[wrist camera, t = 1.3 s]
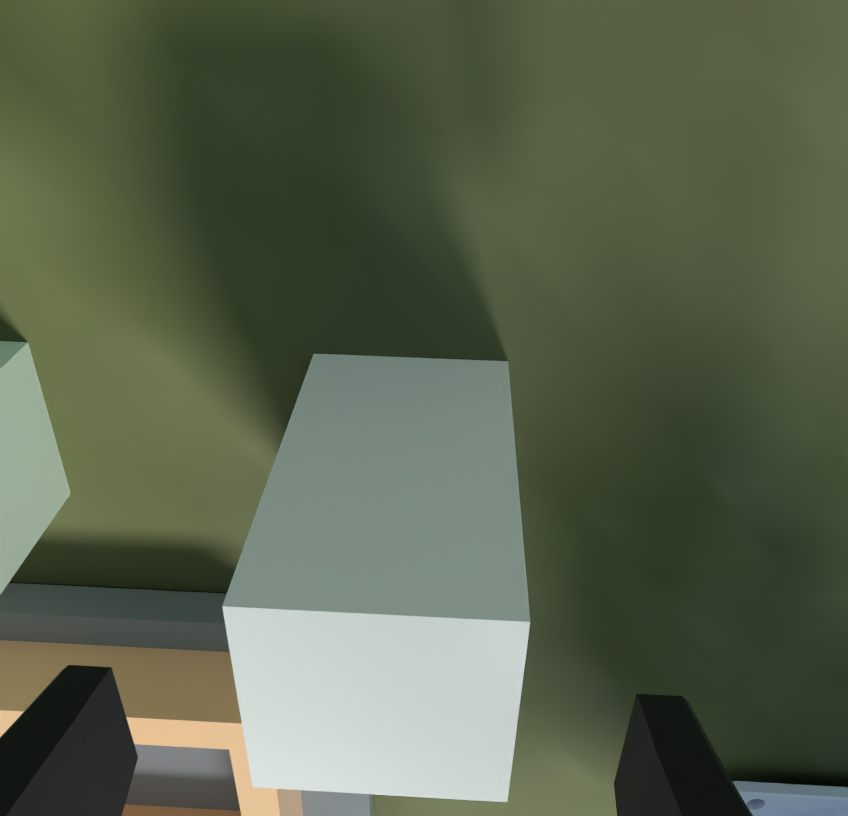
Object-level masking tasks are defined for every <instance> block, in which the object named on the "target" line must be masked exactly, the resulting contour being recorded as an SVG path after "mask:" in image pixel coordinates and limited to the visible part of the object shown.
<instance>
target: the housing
mask: <svg viewBox="0 0 848 816" xmlns="http://www.w3.org/2000/svg"><path fill="white" fill-rule="evenodd" d="M225 597H226V594H222V593H202V592H182V591H162V590H142V589H122V588H102V587H82V586H62V585H42V584H22V583H8V584H7V586H6V587H5V589H4V590H3V592H2V593H1V594H0V737H1V736H2V735H3V734H4V733H5V732H6V731H7V730H8V728H9V727H10V726H11V725H12V724H13V723H14V722H15V721H16V720H17V719H18V718H19V717H20V715H21V714H22V713H23V712H24V711H25V710H26V709H27V708H28V707H29V706H30V705H31V703H32V702H33V701H34V700H35V699H36V698H37V697H38V696H39V695H40V694H41V692H42V691H43V690H44V689H45V688H46V687H47V686H48V685H49V684H50V683H51V682H52V681H53V679H54V678H55V677H56V676H57V675H58V674H59V673H60V672H61V671H62V670H63V669H64V668H65V667H66V666H68V665H80V666H99V667H112V670H113V674H114V677H115V681H116V684H117V687H118V691H119V694H120V698H121V701H122V704H123V708H124V711H125V715H126V718H127V721H128V725H129V728H130V732H131V735H132V738H133V742H134V745H135V749H136V752H137V755H138V760H137V763H136V767H135V770H134V774H133V778H132V781H131V785H130V789H129V792H128V796H127V799H126V803H125V806H124V809H123V813H122V816H374V794H359V793H341V792H324V791H307V790H290V789H273V788H256V787H252V781H251V775H250V769H249V763H248V757H247V751H246V745H245V739H244V733H243V727H242V721H241V715H240V710H239V704H238V698H237V692H236V686H235V680H234V674H233V668H232V662H231V656H230V650H229V644H228V638H227V632H226V626H225V620H224V614H223V608H222V605H223V603H224V600H225Z"/></svg>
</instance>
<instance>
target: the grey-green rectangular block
mask: <svg viewBox="0 0 848 816" xmlns="http://www.w3.org/2000/svg"><path fill="white" fill-rule="evenodd" d="M222 608H223V614H224V620H225V626H226V632H227V638H228V644H229V650H230V656H231V662H232V668H233V674H234V680H235V686H236V692H237V698H238V704H239V710H240V715H241V721H242V727H243V733H244V739H245V745H246V751H247V757H248V763H249V769H250V775H251V781H252V787H256V788H273V789H290V790H307V791H324V792H341V793H359V794H376V795H393V796H410V797H427V798H444V799H461V800H478V801H496V802H507V799H508V792H509V784H510V776H511V768H512V761H513V753H514V745H515V737H516V730H517V722H518V714H519V706H520V699H521V691H522V683H523V675H524V667H525V660H526V652H527V644H528V636H529V629H530V612H529V600H528V589H527V577H526V565H525V554H524V542H523V531H522V519H521V507H520V496H519V484H518V472H517V461H516V449H515V437H514V426H513V414H512V402H511V391H510V379H509V367H508V361H486V360H461V359H436V358H410V357H385V356H360V355H335V354H313V357H312V360H311V362H310V365H309V368H308V371H307V373H306V376H305V379H304V382H303V384H302V387H301V390H300V393H299V395H298V398H297V401H296V404H295V407H294V409H293V412H292V415H291V418H290V420H289V423H288V426H287V429H286V431H285V434H284V437H283V440H282V442H281V445H280V448H279V451H278V453H277V456H276V459H275V462H274V465H273V467H272V470H271V473H270V476H269V478H268V481H267V484H266V487H265V489H264V492H263V495H262V498H261V500H260V503H259V506H258V509H257V512H256V514H255V517H254V520H253V523H252V525H251V528H250V531H249V534H248V536H247V539H246V542H245V545H244V547H243V550H242V553H241V556H240V559H239V561H238V564H237V567H236V570H235V572H234V575H233V578H232V581H231V583H230V586H229V589H228V592H227V594H226V597H225V600H224V603H223V605H222Z"/></svg>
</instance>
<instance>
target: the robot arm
mask: <svg viewBox="0 0 848 816" xmlns="http://www.w3.org/2000/svg"><path fill="white" fill-rule="evenodd" d="M137 760H138V755H137V752H136V749H135V745H134V742H133V738H132V735H131V732H130V728H129V725H128V721H127V718H126V715H125V711H124V708H123V704H122V701H121V698H120V694H119V691H118V687H117V684H116V681H115V677H114V674H113V670H112V667H99V666H80V665H68V666H66V667H65V668H64V669H63V670H62V671H61V672H60V673H59V674H58V675H57V676H56V677H55V678H54V679H53V681H52V682H51V683H50V684H49V685H48V686H47V687H46V688H45V689H44V690H43V691H42V692H41V694H40V695H39V696H38V697H37V698H36V699H35V700H34V701H33V702H32V703H31V705H30V706H29V707H28V708H27V709H26V710H25V711H24V712H23V713H22V714H21V715H20V717H19V718H18V719H17V720H16V721H15V722H14V723H13V724H12V725H11V726H10V727H9V728H8V730H7V731H6V732H5V733H4V734H3V735H2V736H1V737H0V816H122V813H123V809H124V806H125V803H126V799H127V796H128V792H129V789H130V785H131V781H132V778H133V774H134V770H135V767H136V763H137ZM614 788H615V798H616V808H617V816H848V787H838V786H820V785H802V784H785V783H767V782H750V781H732V780H731V778H730V777H729V775H728V773H727V772H726V770H725V768H724V766H723V765H722V763H721V761H720V759H719V758H718V756H717V754H716V752H715V751H714V749H713V747H712V745H711V743H710V742H709V740H708V738H707V736H706V734H705V733H704V731H703V729H702V727H701V725H700V723H699V722H698V720H697V718H696V716H695V714H694V712H693V710H692V708H691V706H690V705H689V703H688V702H687V701H686V700H685V699H684V698H683V697H682V696H667V695H648V694H636V698H635V702H634V706H633V710H632V714H631V718H630V722H629V726H628V730H627V734H626V738H625V742H624V746H623V750H622V754H621V758H620V762H619V766H618V770H617V774H616V778H615V782H614Z"/></svg>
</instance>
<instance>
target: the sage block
mask: <svg viewBox="0 0 848 816" xmlns="http://www.w3.org/2000/svg"><path fill="white" fill-rule="evenodd" d="M70 494H71V493H70V489H69V486H68V482H67V479H66V475H65V472H64V468H63V465H62V461H61V457H60V454H59V450H58V447H57V443H56V440H55V436H54V433H53V429H52V426H51V422H50V419H49V415H48V411H47V408H46V404H45V401H44V397H43V394H42V390H41V387H40V383H39V380H38V376H37V373H36V369H35V365H34V362H33V358H32V355H31V351H30V348H29V344H28V342H7V341H0V594H1V593H2V592H3V590H4V589H5V587H6V586H7V584H8V583H9V582H10V580H11V579H12V577H13V576H14V574H15V573H16V571H17V570H18V569H19V567H20V566H21V564H22V563H23V561H24V560H25V559H26V557H27V556H28V554H29V553H30V551H31V550H32V548H33V547H34V546H35V544H36V543H37V541H38V540H39V538H40V537H41V535H42V534H43V533H44V531H45V530H46V528H47V527H48V525H49V524H50V523H51V521H52V520H53V518H54V517H55V515H56V514H57V512H58V511H59V510H60V508H61V507H62V505H63V504H64V502H65V501H66V500H67V498H68V497H69V495H70Z"/></svg>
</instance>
